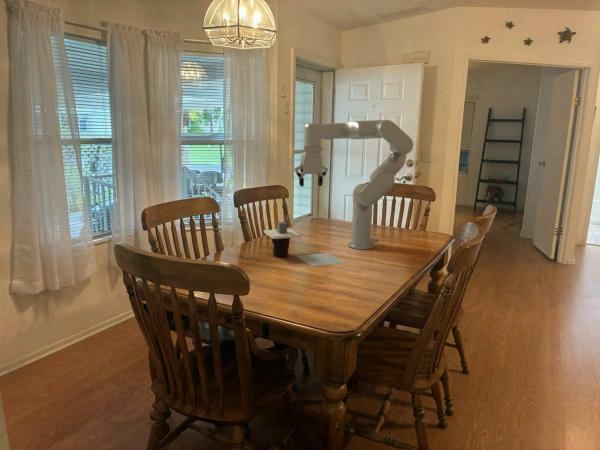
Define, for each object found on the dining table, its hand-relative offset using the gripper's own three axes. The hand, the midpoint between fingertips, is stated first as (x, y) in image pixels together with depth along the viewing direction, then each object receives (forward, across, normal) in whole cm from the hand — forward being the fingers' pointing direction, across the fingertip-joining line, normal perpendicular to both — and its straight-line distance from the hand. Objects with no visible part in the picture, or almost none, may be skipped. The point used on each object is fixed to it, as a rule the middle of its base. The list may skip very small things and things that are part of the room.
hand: (310, 185), depth 215 cm
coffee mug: (+31, +19, +11) cm, 38 cm away
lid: (+20, +19, +11) cm, 30 cm away
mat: (+30, +5, +23) cm, 38 cm away
